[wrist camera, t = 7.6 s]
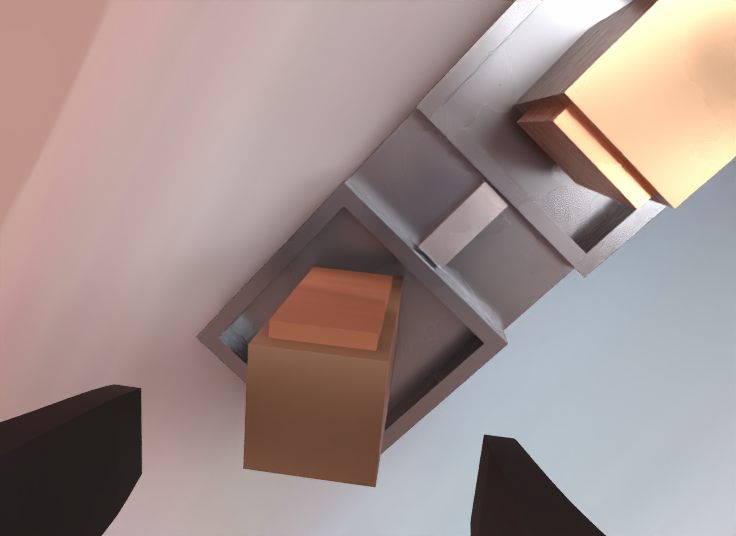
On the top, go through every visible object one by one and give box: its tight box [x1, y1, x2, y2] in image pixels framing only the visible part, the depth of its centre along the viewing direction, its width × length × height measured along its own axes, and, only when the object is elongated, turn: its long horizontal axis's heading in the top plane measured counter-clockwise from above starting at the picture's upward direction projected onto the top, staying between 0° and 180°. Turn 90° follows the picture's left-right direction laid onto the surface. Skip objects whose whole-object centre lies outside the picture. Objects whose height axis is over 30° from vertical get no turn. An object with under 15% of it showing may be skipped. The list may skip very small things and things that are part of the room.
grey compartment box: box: [197, 0, 736, 454], centre depth 15 cm, size 7×17×8 cm, turn 136°
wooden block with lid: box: [243, 267, 404, 487], centre depth 16 cm, size 3×3×7 cm
